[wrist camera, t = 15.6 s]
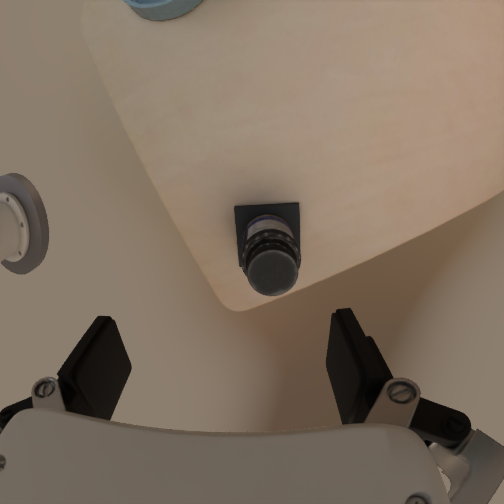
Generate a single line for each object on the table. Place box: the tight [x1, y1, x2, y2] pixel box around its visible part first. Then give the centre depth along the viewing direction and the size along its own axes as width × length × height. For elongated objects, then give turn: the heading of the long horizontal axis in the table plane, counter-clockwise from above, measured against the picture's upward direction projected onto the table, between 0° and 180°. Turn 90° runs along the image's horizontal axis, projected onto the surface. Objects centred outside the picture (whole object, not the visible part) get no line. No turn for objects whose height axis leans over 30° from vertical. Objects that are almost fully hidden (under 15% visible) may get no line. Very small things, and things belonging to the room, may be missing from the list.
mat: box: [234, 203, 300, 267], centre depth 36 cm, size 8×8×1 cm
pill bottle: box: [241, 214, 301, 296], centre depth 31 cm, size 6×6×11 cm
